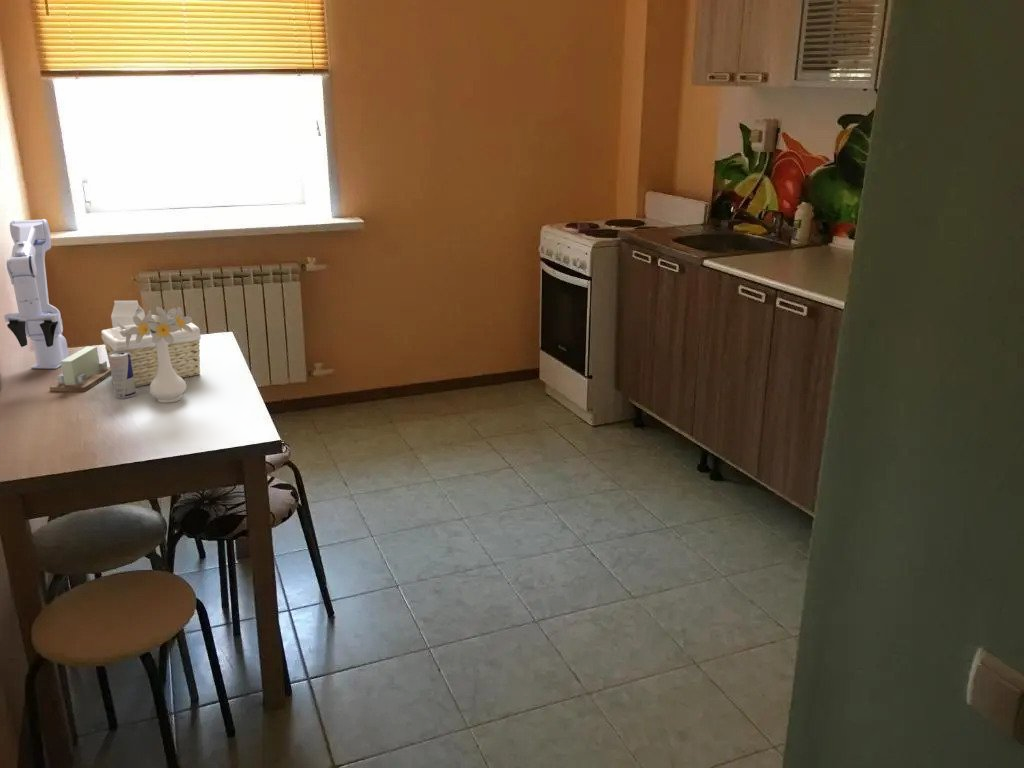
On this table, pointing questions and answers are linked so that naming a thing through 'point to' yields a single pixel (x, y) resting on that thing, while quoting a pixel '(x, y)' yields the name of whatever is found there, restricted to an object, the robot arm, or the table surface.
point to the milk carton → (126, 313)
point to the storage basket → (145, 353)
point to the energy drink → (122, 375)
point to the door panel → (80, 365)
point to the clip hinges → (82, 378)
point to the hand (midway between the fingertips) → (37, 345)
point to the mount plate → (90, 382)
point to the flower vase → (161, 349)
